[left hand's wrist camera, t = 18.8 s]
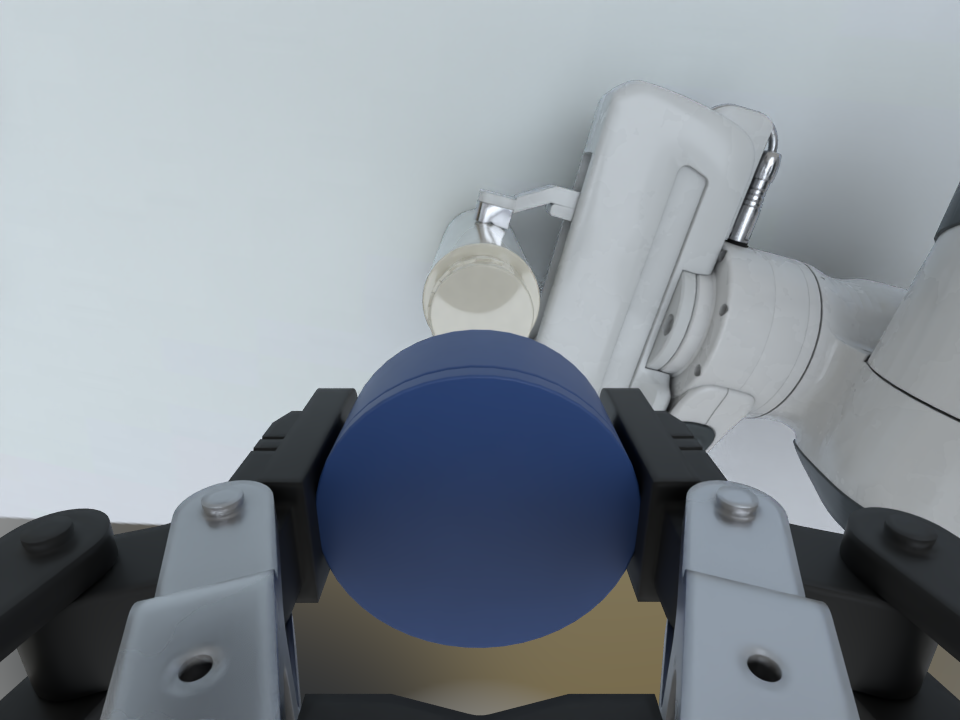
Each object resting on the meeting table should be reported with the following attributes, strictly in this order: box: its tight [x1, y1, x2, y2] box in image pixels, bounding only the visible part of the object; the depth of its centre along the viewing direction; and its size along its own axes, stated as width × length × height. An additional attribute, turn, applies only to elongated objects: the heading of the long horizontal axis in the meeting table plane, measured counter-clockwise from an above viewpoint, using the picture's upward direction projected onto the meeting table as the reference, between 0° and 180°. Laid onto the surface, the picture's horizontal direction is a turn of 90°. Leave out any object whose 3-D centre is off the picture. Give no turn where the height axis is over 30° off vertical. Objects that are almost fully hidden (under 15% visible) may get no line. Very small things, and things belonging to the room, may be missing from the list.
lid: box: [316, 330, 641, 648], centre depth 10 cm, size 5×5×2 cm
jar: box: [423, 209, 540, 338], centre depth 27 cm, size 5×5×16 cm
